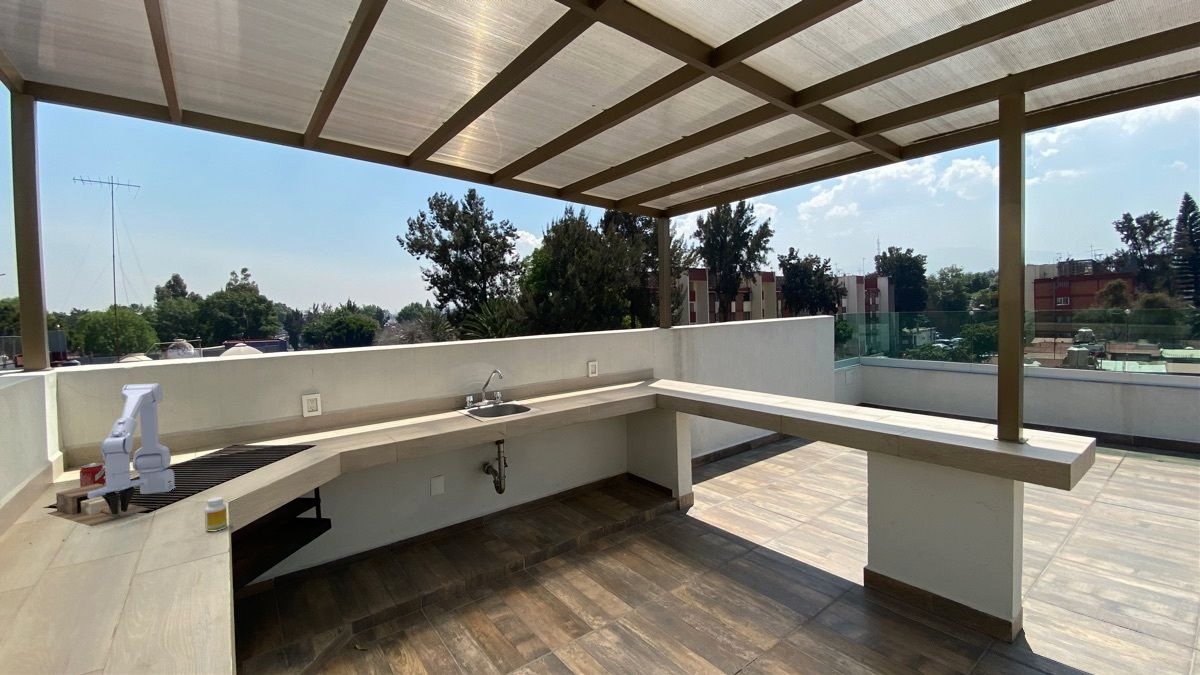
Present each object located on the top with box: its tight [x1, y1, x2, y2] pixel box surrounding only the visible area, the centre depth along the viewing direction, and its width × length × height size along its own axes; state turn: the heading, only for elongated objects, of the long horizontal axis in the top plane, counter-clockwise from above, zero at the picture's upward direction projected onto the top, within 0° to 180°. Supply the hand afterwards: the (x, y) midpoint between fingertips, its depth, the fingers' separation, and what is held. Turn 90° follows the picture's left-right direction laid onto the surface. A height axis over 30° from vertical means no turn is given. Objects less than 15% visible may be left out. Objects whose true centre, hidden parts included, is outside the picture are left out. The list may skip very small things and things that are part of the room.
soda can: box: [79, 461, 106, 488], centre depth 181 cm, size 7×7×12 cm
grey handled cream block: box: [81, 496, 121, 517], centre depth 163 cm, size 14×6×6 cm, turn 69°
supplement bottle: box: [204, 496, 228, 531], centre depth 153 cm, size 5×5×10 cm
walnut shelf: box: [46, 483, 150, 527], centre depth 164 cm, size 28×15×7 cm, turn 69°
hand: (119, 512), depth 160 cm, fingers closed on grey handled cream block, 2 cm apart
